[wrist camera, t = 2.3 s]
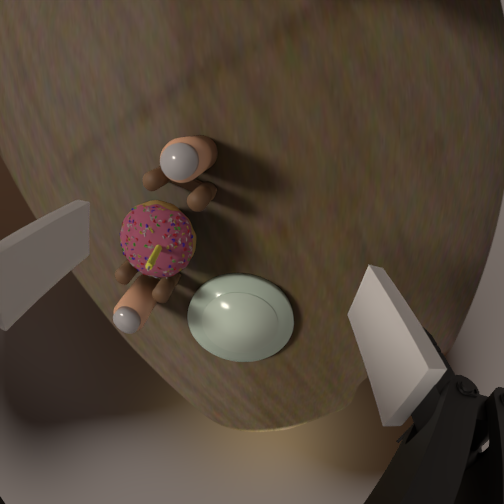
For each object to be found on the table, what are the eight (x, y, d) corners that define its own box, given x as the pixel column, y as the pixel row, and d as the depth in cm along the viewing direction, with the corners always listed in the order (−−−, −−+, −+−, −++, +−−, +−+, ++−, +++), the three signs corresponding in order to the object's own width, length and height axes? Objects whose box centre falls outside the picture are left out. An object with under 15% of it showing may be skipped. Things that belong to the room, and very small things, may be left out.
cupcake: (193, 183, 32) (154, 215, 21) (213, 252, 36) (188, 309, 25) (128, 201, 34) (73, 238, 23) (150, 264, 37) (109, 319, 26)
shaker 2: (176, 162, 31) (149, 174, 24) (190, 129, 30) (166, 131, 22) (208, 176, 32) (190, 192, 25) (223, 143, 30) (208, 149, 23)
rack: (130, 261, 37) (113, 279, 32) (163, 161, 31) (146, 167, 27) (177, 284, 38) (165, 305, 33) (219, 186, 32) (210, 196, 28)
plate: (176, 333, 41) (174, 339, 40) (211, 254, 36) (209, 259, 34) (263, 367, 43) (263, 374, 42) (313, 300, 37) (314, 306, 36)
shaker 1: (132, 291, 39) (108, 326, 31) (139, 269, 37) (112, 302, 30) (158, 304, 39) (137, 341, 32) (165, 282, 38) (144, 318, 30)
